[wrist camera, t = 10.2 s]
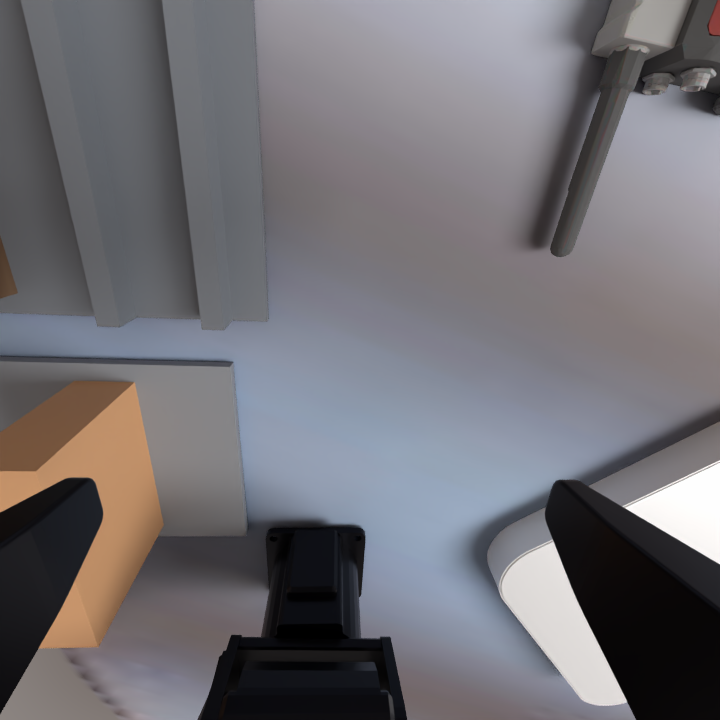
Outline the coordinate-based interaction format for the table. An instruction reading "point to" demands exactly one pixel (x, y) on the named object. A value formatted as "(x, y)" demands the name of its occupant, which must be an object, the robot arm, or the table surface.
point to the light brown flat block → (114, 484)
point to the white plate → (549, 580)
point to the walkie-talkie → (657, 68)
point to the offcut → (6, 275)
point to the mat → (160, 430)
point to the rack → (132, 160)
